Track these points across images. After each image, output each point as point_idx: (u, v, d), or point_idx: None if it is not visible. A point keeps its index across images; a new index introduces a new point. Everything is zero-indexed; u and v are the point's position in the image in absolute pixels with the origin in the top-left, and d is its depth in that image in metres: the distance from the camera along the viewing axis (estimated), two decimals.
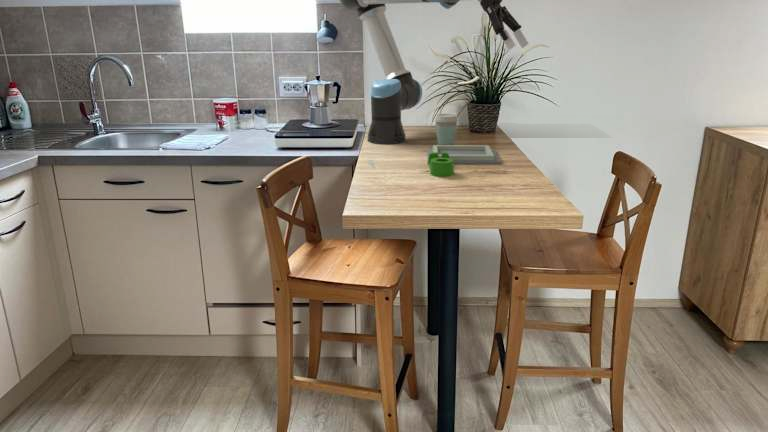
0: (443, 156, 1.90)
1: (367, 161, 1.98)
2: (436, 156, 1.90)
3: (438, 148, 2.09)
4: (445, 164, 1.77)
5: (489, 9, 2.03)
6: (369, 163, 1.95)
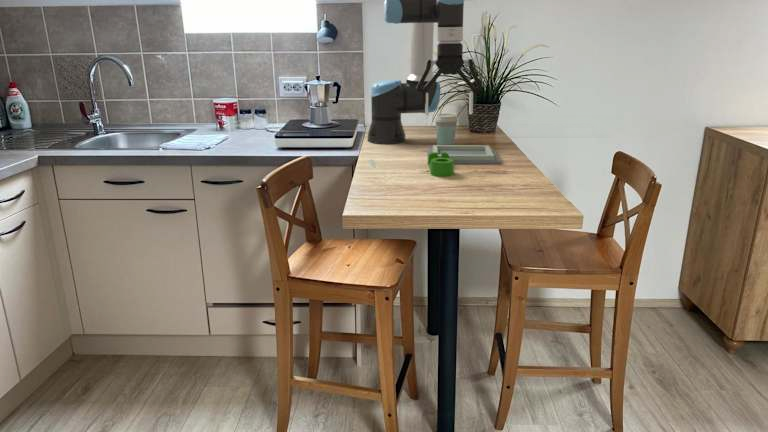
0: (443, 156, 1.90)
1: (368, 161, 1.98)
2: (436, 156, 1.90)
3: (438, 148, 2.09)
4: (445, 164, 1.77)
5: (427, 62, 1.76)
6: (370, 163, 1.95)
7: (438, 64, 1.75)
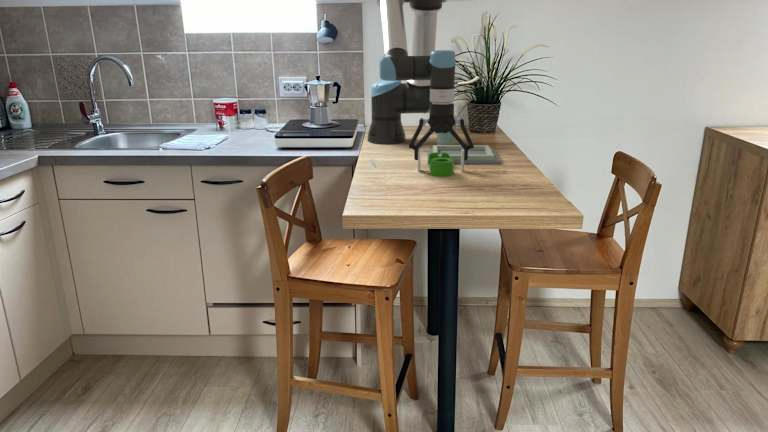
0: (443, 156, 1.90)
1: (369, 161, 1.98)
2: (436, 156, 1.90)
3: (438, 148, 2.09)
4: (445, 164, 1.77)
5: (419, 121, 1.80)
6: (371, 163, 1.95)
7: (430, 123, 1.80)
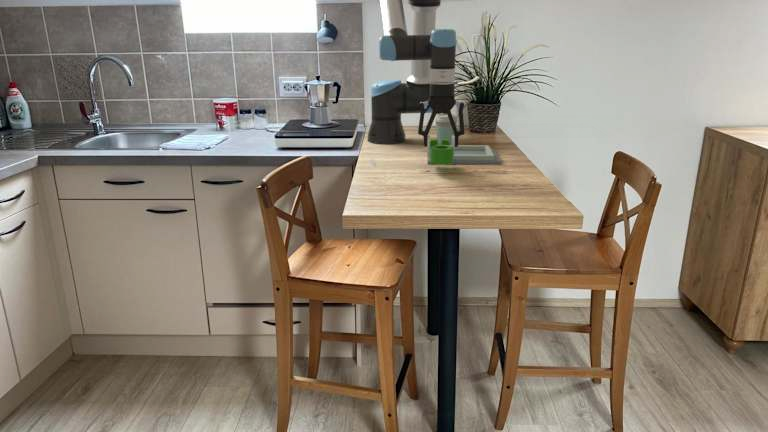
0: (443, 143, 1.89)
1: None
2: (436, 143, 1.89)
3: None
4: (445, 151, 1.76)
5: (420, 105, 1.79)
6: (372, 163, 1.95)
7: (431, 104, 1.78)
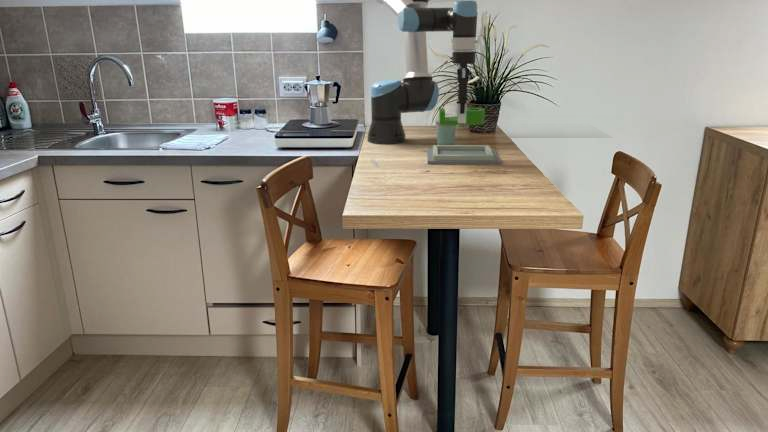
0: None
1: None
2: None
3: (438, 148, 2.09)
4: None
5: (464, 74, 1.86)
6: (373, 163, 1.95)
7: None
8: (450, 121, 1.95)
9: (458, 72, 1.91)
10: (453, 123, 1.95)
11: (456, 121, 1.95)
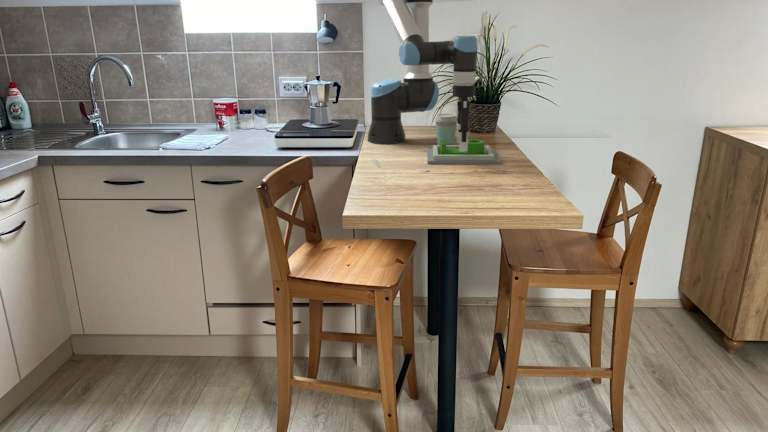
0: None
1: (372, 161, 1.98)
2: None
3: (438, 148, 2.09)
4: None
5: (465, 104, 1.90)
6: (374, 163, 1.95)
7: None
8: (451, 153, 1.99)
9: (459, 104, 1.95)
10: None
11: (457, 153, 1.99)
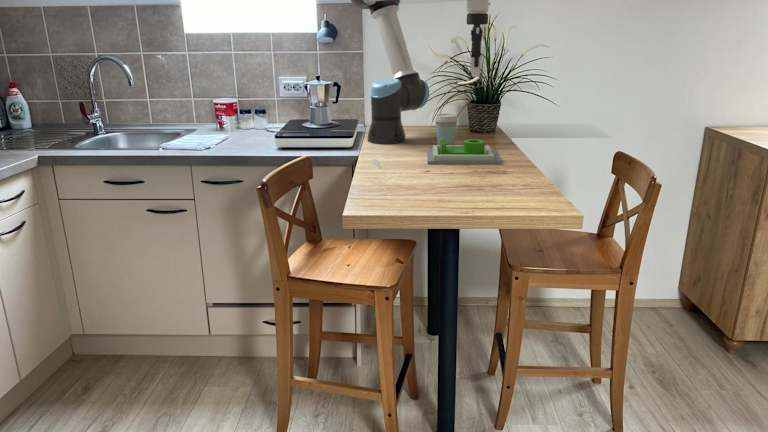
0: None
1: None
2: None
3: (438, 148, 2.09)
4: None
5: (478, 30, 2.00)
6: (375, 163, 1.95)
7: None
8: (451, 153, 1.99)
9: (472, 32, 2.05)
10: None
11: (457, 153, 1.99)
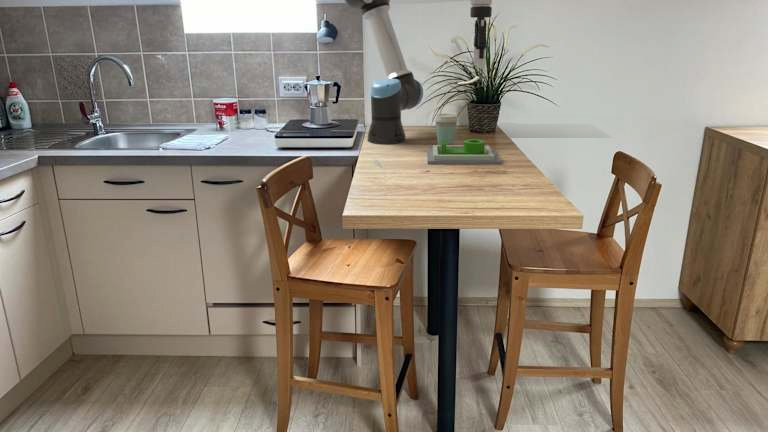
0: None
1: None
2: None
3: (438, 148, 2.09)
4: None
5: (482, 22, 2.05)
6: None
7: None
8: (451, 153, 1.99)
9: (476, 24, 2.10)
10: None
11: (457, 153, 1.99)
